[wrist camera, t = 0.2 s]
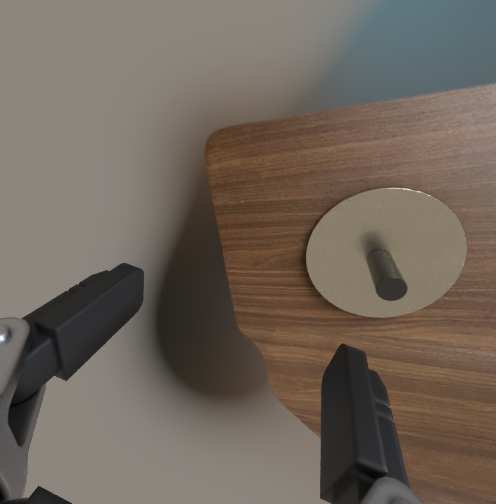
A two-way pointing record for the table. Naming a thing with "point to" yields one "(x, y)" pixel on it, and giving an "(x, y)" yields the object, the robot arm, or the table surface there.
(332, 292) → the lid
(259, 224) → the table surface
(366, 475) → the robot arm
